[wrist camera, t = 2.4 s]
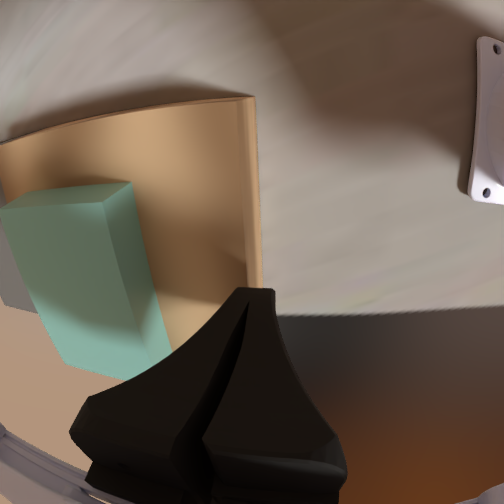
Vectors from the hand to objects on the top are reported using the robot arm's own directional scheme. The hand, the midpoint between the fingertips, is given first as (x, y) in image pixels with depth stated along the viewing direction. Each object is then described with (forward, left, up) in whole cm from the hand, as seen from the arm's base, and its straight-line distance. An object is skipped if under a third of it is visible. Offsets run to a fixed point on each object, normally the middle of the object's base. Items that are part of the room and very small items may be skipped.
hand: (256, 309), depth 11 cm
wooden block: (+6, 0, -5) cm, 8 cm away
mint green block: (+7, 0, -1) cm, 8 cm away
